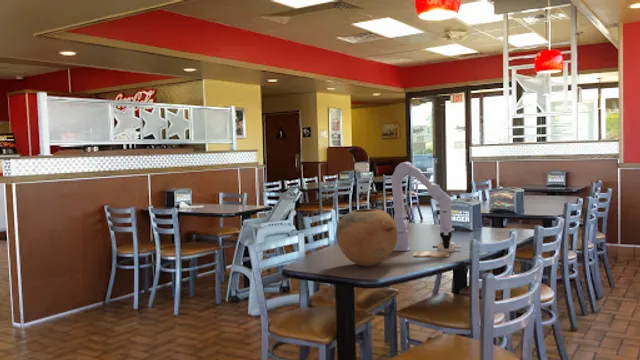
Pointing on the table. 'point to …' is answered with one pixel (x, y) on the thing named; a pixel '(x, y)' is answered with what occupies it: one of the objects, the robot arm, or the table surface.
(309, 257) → the table surface
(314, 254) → the table surface
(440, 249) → the connector
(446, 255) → the pad
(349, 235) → the pot
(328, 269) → the table surface
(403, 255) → the table surface
